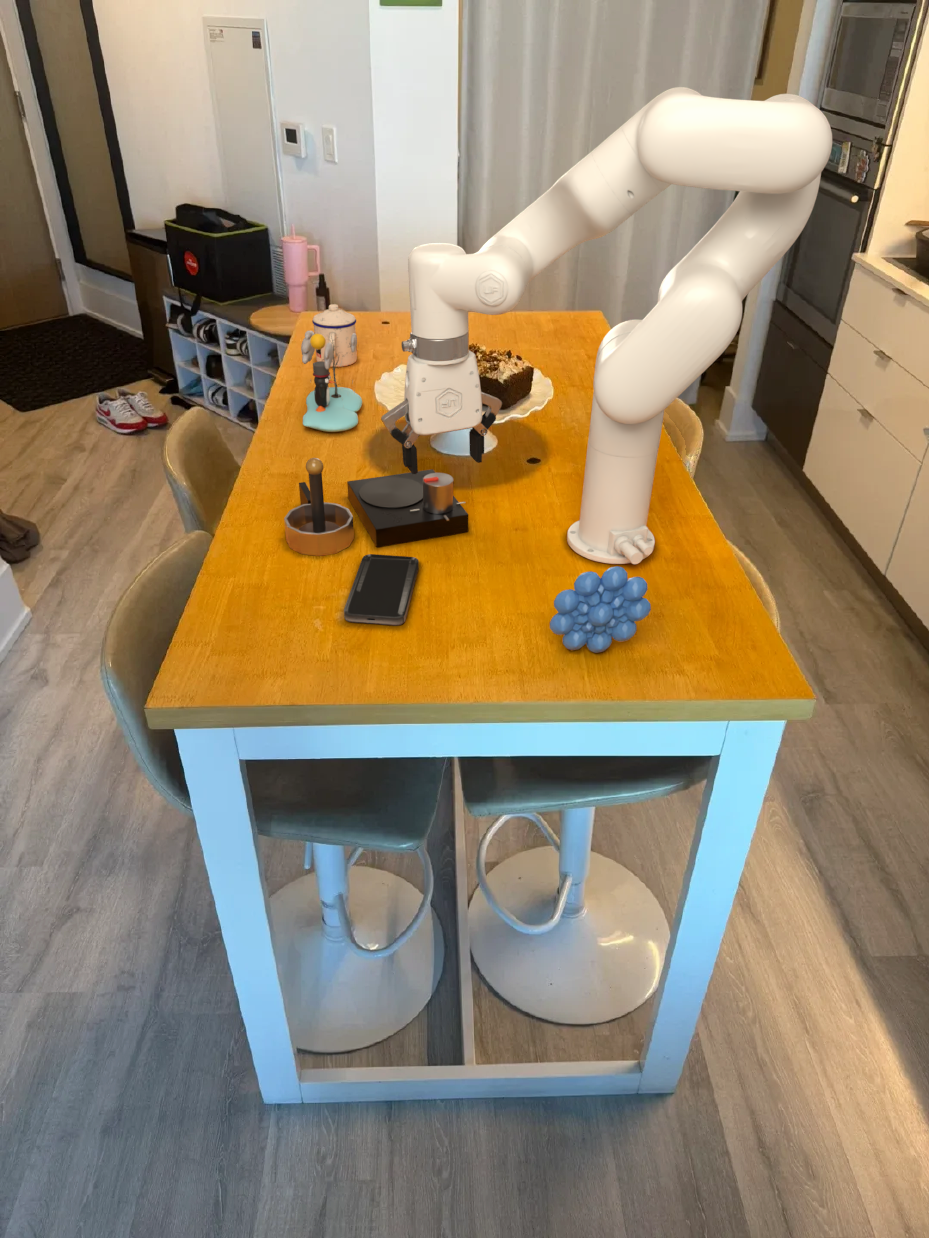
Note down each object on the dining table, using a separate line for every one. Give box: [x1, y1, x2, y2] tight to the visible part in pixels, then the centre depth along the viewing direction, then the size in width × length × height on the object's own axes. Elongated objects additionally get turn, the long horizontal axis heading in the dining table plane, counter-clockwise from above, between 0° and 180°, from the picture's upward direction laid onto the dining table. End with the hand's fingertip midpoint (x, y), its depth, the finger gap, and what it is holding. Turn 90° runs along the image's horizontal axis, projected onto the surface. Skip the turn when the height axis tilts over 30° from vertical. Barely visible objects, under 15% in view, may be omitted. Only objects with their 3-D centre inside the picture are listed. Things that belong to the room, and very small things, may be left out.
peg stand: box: [299, 457, 340, 533], centre depth 127 cm, size 6×6×13 cm
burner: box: [359, 477, 423, 508], centre depth 137 cm, size 10×10×1 cm
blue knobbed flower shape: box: [549, 565, 652, 654], centre depth 107 cm, size 12×7×12 cm, turn 89°
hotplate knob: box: [423, 472, 454, 514], centre depth 132 cm, size 4×4×5 cm
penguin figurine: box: [300, 330, 363, 433], centre depth 164 cm, size 20×11×15 cm, turn 1°
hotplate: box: [346, 468, 469, 548], centre depth 136 cm, size 17×15×3 cm
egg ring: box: [283, 481, 355, 557], centre depth 132 cm, size 16×9×4 cm, turn 21°
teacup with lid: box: [311, 303, 358, 368], centre depth 189 cm, size 12×9×12 cm
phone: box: [343, 553, 420, 626], centre depth 119 cm, size 8×1×15 cm
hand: (444, 464), depth 129 cm, fingers open, 9 cm apart
